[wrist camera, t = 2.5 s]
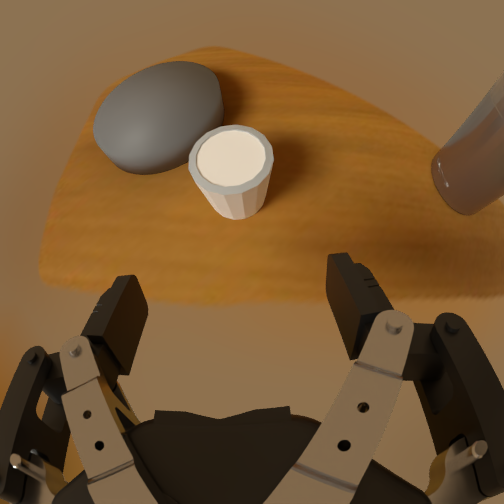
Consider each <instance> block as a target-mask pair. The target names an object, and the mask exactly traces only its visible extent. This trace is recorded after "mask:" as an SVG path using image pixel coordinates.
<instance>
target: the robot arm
mask: <svg viewBox="0 0 504 504" xmlns="http://www.w3.org/2000/svg"><path fill="white" fill-rule="evenodd" d="M432 176H433V179H434V182H435V185H436V187H437V189H438V191H439V193H440V194H441V196H442V197H443V199H444V200H445V201H446V202H447V203H448V205H449V206H451V207H452V208H453V209H454V210H456V211H457V212H459V213H461V214H464V215H472V214H475V213H476V212H478V211H480V210H481V209H483V208H484V207H486V206H487V205H489V204H491V203H492V202H494V201H495V200H497V199H498V198H500V197H501V196H503V195H504V71H503V72H502V74H501V75H500V77H499V78H498V79H497V81H496V82H495V83H494V85H493V86H492V88H491V89H490V90H489V92H488V93H487V94H486V96H485V97H484V98H483V100H482V101H481V102H480V103H479V105H478V106H477V107H476V108H475V110H474V111H473V112H472V113H471V115H470V116H469V117H468V118H467V119H466V121H465V122H464V123H463V124H462V126H461V127H460V128H459V129H458V130H457V131H456V133H455V134H454V135H453V136H452V137H451V138H450V140H449V141H448V142H447V143H446V144H445V145H444V146H443V148H442V149H441V150H440V151H439V152H438V153H437V154H436V155H435V157H434V159H433V161H432ZM326 294H327V299H328V301H329V304H330V307H331V309H332V312H333V315H334V317H335V320H336V323H337V325H338V328H339V331H340V334H341V336H342V339H343V342H344V344H345V347H346V350H347V353H348V356H349V359H350V360H354V359H358V360H357V362H355V363H354V364H353V366H352V368H351V370H350V372H349V374H348V376H347V378H346V380H345V382H344V384H343V386H342V388H341V390H340V392H339V393H338V395H337V397H336V399H335V401H334V403H333V405H332V406H331V408H330V410H329V412H328V413H327V415H326V417H325V419H324V420H323V422H322V423H321V422H319V421H317V420H315V419H312V418H309V417H305V416H300V415H293V414H290V407H289V406H285V407H277V408H267V409H256V410H252V411H249V412H245V413H242V414H239V415H235V416H231V417H227V418H223V419H215V418H210V417H206V416H201V415H197V414H193V413H189V412H181V411H159V410H155V415H154V419H152V420H148V421H144V422H142V423H141V422H140V421H139V420H138V418H137V417H136V415H135V413H134V411H133V409H132V408H131V406H130V404H129V402H128V400H127V398H126V396H125V394H124V392H123V390H122V387H121V385H120V383H119V382H118V381H117V379H118V375H129V374H130V371H131V367H132V364H133V360H134V357H135V354H136V350H137V347H138V344H139V341H140V338H141V335H142V331H143V328H144V326H145V322H146V319H147V316H148V305H147V302H146V299H145V297H144V294H143V292H142V289H141V287H140V284H139V282H138V279H137V277H136V276H135V275H125V276H118V277H117V278H116V280H115V281H114V283H113V285H112V287H111V288H109V289H108V290H107V291H106V292H105V293H104V294H103V295H102V296H101V297H100V299H99V301H98V303H97V306H95V308H94V310H93V313H92V314H91V316H90V318H89V319H88V321H87V324H86V325H85V327H84V330H83V331H82V333H81V335H80V336H76V337H73V338H71V339H69V340H68V341H66V342H65V343H64V345H63V346H62V348H61V350H60V352H57V353H53V354H49V355H48V354H47V353H46V351H45V350H44V349H43V348H42V347H41V346H35V347H32V348H30V349H29V350H28V351H27V352H26V353H25V354H24V355H23V357H22V359H21V362H20V363H19V366H18V368H17V370H16V372H15V374H14V377H13V379H12V381H11V384H10V386H9V388H8V391H7V393H6V396H5V399H4V402H3V404H2V407H1V410H0V498H1V499H3V500H6V501H7V502H9V503H10V504H477V503H478V502H481V501H483V500H486V499H489V498H491V497H493V496H496V495H498V494H500V493H503V492H504V390H503V388H502V386H501V383H500V381H499V379H498V377H497V375H496V374H495V372H494V370H493V368H492V366H491V364H490V362H489V360H488V358H487V357H486V355H485V353H484V351H483V349H482V348H481V346H480V345H479V343H478V341H477V339H476V338H475V336H474V334H473V333H472V331H471V329H470V328H469V326H468V325H467V323H466V322H465V320H464V319H463V318H461V317H460V316H458V315H456V314H454V313H442V314H440V315H439V316H438V317H437V318H436V320H435V323H434V324H421V323H413V322H412V320H411V319H410V317H409V316H408V315H406V314H405V313H403V312H400V311H397V310H394V309H393V307H392V305H391V303H390V302H389V300H388V298H387V297H386V295H385V293H384V292H383V290H382V289H381V287H380V286H379V284H378V282H377V281H376V279H375V278H374V276H373V274H372V273H371V271H370V270H369V269H368V268H366V267H365V266H364V265H362V264H361V263H356V264H354V263H353V261H352V259H351V258H350V256H349V255H348V253H346V252H345V253H337V254H329V255H328V260H327V276H326ZM403 380H405V381H407V380H408V381H413V382H414V385H415V388H416V390H417V393H418V396H419V398H420V402H421V404H422V408H423V411H424V413H425V417H426V420H427V423H428V426H429V429H430V433H431V436H432V439H433V443H434V446H435V450H436V454H437V456H436V457H435V459H434V460H433V462H432V463H431V466H430V470H429V485H428V487H427V490H426V491H425V492H423V491H422V490H420V489H418V488H417V487H415V486H414V485H412V484H410V483H409V482H407V481H405V480H404V479H402V478H401V477H399V476H397V475H396V474H394V473H393V472H391V471H390V470H388V469H387V468H385V467H384V466H382V465H381V464H379V463H378V462H376V461H375V460H373V459H372V457H373V455H374V453H375V451H376V449H377V447H378V444H379V442H380V440H381V438H382V435H383V433H384V431H385V428H386V426H387V423H388V421H389V418H390V416H391V413H392V410H393V407H394V405H395V402H396V399H397V397H398V394H399V391H400V388H401V384H402V381H403ZM42 391H44V392H45V394H47V396H48V397H49V398H48V402H47V404H46V407H45V411H44V414H43V418H42V421H41V420H40V419H39V418H38V416H37V414H36V406H37V403H38V400H39V397H40V394H41V392H42ZM70 433H71V434H72V437H73V440H74V443H75V446H76V448H77V451H78V454H79V456H80V459H81V462H82V464H83V466H84V470H83V471H82V472H81V473H80V474H79V475H78V476H76V477H75V478H74V479H73V480H72V481H71V482H69V483H68V482H67V481H65V480H64V476H63V469H64V462H65V458H66V452H67V447H68V442H69V438H70Z"/></svg>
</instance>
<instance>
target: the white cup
mask: <svg viewBox="0 0 504 504" xmlns="http://www.w3.org/2000/svg"><path fill="white" fill-rule="evenodd" d="M273 161H274V157H273V151H272V146H271V144H270V143H269V142H268V140H267V139H266V137H265V136H264V135H263V134H261V133H260V132H258V131H256V130H255V129H253V128H251V127H246V126H241V125H229V126H221V127H218V128H216V129H214V130H212V131H209V132H207V133H206V134H205V135H204V136H202V137H201V138H200V139H199V140H198V141H197V142H196V143H195V145H194V147H193V149H192V151H191V153H190V155H189V171H190V173H191V175H192V177H193V179H194V181H195V182H196V184H197V185H198V187H199V188H200V189H201V191H202V192H203V194H204V195H205V196H206V198H207V199H208V201H209V202H210V203H211V205H212V206H213V207H214V209H215V210H216V211H217V212H218V213H220V214H221V215H222V216H223V217H226V218H230V219H233V220H236V219H246V218H248V217H250V216H252V215H254V214H256V212H257V211H258V210H259V209H260V208H261V207H262V206H263V203H264V200H265V197H266V193H267V188H268V184H269V179H270V175H271V170H272V166H273Z"/></svg>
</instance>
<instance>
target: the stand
mask: <svg viewBox="0 0 504 504" xmlns="http://www.w3.org/2000/svg"><path fill="white" fill-rule="evenodd" d="M223 118H224V106H223V101H222V96H221V90H220V85H219V81H218V79H217V77H216V75H215V74H214V73H213V72H212V71H211V70H210V69H208V68H207V67H205V66H203V65H200V64H197V63H193V62H186V61H176V62H167V63H162V64H158V65H155V66H152V67H149V68H146V69H144V70H142V71H140V72H138V73H136V74H134V75H132V76H131V77H129V78H128V79H126V80H125V81H123V82H122V83H121V84H120V85H118V86H117V87H116V88H115V89H114V90H113V91H112V92H111V93H110V94H109V95H108V96H107V98H106V99H105V100H104V102H103V103H102V105H101V106H100V108H99V110H98V112H97V114H96V117H95V121H94V126H93V132H94V138H95V140H96V142H97V144H98V145H99V147H100V148H101V149H102V150H103V151H104V153H105V154H106V155H107V156H108V157H109V158H110V159H111V161H112V162H113V163H114V164H115V165H116V166H117V167H119V168H120V169H122V170H124V171H126V172H128V173H133V174H140V175H148V174H156V173H161V172H165V171H168V170H171V169H174V168H176V167H178V166H180V165H182V164H185V163H186V162H188V161H189V155H190V153H191V151H192V149H193V147H194V145H195V143H196V142H197V141H198V140H199V139H200V138H201V137H202V136H204V135H205V134H206V133H207V132H209V131H212V130H214V129H216V128H218V127H221V126H222V123H223Z"/></svg>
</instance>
